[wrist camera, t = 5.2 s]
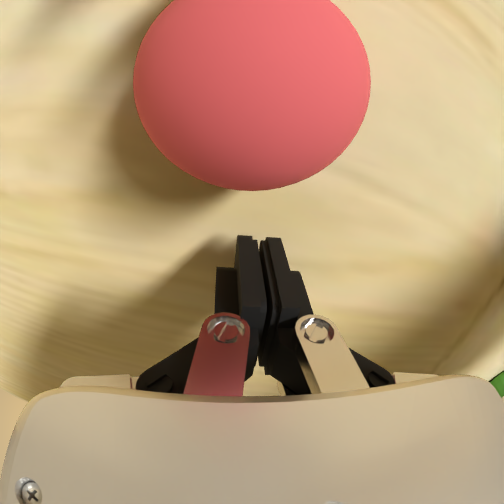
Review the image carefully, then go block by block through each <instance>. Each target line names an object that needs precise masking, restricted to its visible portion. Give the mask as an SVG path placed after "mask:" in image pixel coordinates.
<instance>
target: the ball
mask: <svg viewBox="0 0 504 504" xmlns="http://www.w3.org/2000/svg"><path fill="white" fill-rule="evenodd" d="M370 85H371V80H370V68H369V63H368V58H367V54H366V51H365V48H364V46H363V43H362V41H361V39H360V37H359V35H358V33H357V31H356V29H355V28H354V27H353V25H352V24H351V22H350V21H349V19H348V18H347V17H346V16H345V15H344V14H343V13H342V11H341V10H340V9H339V8H338V7H337V6H336V5H334V4H333V3H332V2H331V1H330V0H174V1H172V2H171V3H170V4H169V5H168V6H167V7H166V8H165V9H164V10H163V11H162V12H161V13H160V14H159V15H158V16H157V18H156V19H155V20H154V22H153V23H152V24H151V26H150V27H149V29H148V31H147V33H146V34H145V36H144V38H143V40H142V42H141V45H140V48H139V50H138V53H137V57H136V62H135V66H134V76H133V89H134V99H135V104H136V108H137V112H138V115H139V117H140V120H141V122H142V125H143V127H144V129H145V131H146V132H147V134H148V136H149V137H150V139H151V140H152V142H153V143H154V144H155V146H156V147H157V148H158V149H159V151H160V152H161V153H162V154H163V155H164V156H165V157H166V158H167V159H168V160H169V161H171V162H172V163H173V164H175V165H176V166H177V167H179V168H180V169H181V170H183V171H185V172H186V173H188V174H190V175H192V176H193V177H195V178H197V179H200V180H202V181H204V182H207V183H209V184H212V185H216V186H219V187H223V188H228V189H234V190H245V191H258V190H269V189H275V188H281V187H284V186H287V185H291V184H294V183H297V182H299V181H302V180H304V179H306V178H309V177H311V176H312V175H314V174H316V173H318V172H319V171H321V170H322V169H324V168H325V167H327V166H328V165H329V164H331V163H332V162H333V161H334V160H335V159H336V158H337V157H338V156H340V155H341V154H342V152H343V151H344V150H345V149H346V148H347V147H348V145H349V144H350V143H351V141H352V140H353V138H354V137H355V135H356V134H357V132H358V130H359V128H360V126H361V124H362V122H363V119H364V116H365V113H366V110H367V107H368V102H369V97H370Z"/></svg>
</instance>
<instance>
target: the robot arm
mask: <svg viewBox="0 0 504 504" xmlns="http://www.w3.org/2000/svg"><path fill="white" fill-rule="evenodd" d="M257 356H258V361H259V366H264V370H265V375H271V376H272V377H274V378H275V379H277V380H278V381H277V386H278V390H279V393H280V396H242V395H243V387H244V382H245V381H246V380H247V379H248V378H250V377H251V376H252V374H253V370H254V366H255V365H256V361H257ZM0 504H504V402H503V400H502V398H501V397H500V395H499V394H498V392H497V391H496V389H495V388H494V387H493V385H492V384H491V383H489V382H488V381H487V380H484V379H482V378H479V377H476V376H470V375H443V376H439V375H435V374H418V373H402V372H394V373H393V374H392V375H391V374H390V373H389V372H388V371H387V370H385V369H384V368H382V367H380V366H379V365H377V364H375V363H374V362H372V361H370V360H368V359H367V358H365V357H363V356H362V355H360V354H358V353H357V352H355V351H353V350H352V349H350V348H348V346H347V344H346V343H345V341H344V339H343V337H342V335H341V334H340V332H339V330H338V328H337V327H336V325H335V324H334V323H333V322H332V321H330V320H329V319H327V318H325V317H323V316H319V315H314V314H313V311H312V308H311V305H310V302H309V299H308V295H307V292H306V289H305V286H304V283H303V280H302V277H301V274H300V272H299V271H290V268H289V265H288V261H287V258H286V254H285V251H284V247H283V244H282V241H281V238H272V237H266V240H265V241H263V240H261V242H260V247H259V249H258V243H257V240H252V236H242V235H238V236H237V245H236V255H235V265H234V268H226V267H217V271H216V290H215V313H214V315H211V316H209V317H208V318H207V319H206V320H205V321H204V323H203V325H202V328H201V332H200V335H199V337H198V338H197V339H195V340H194V341H192V342H191V343H189V344H188V345H186V346H184V347H183V348H181V349H180V350H178V351H177V352H175V353H173V354H172V355H170V356H169V357H167V358H165V359H164V360H162V361H161V362H159V363H157V364H156V365H154V366H153V367H151V368H149V369H148V370H146V371H145V372H144V373H142V374H141V375H140V376H138V377H131V376H130V374H122V375H102V376H75V377H70V378H68V379H67V380H65V381H64V382H63V383H62V384H61V386H60V388H55V389H51V390H48V391H45V392H42V393H40V394H38V395H36V396H34V397H33V398H32V399H31V400H30V401H29V402H28V403H27V405H26V406H25V407H24V409H23V411H22V413H21V415H20V416H19V419H18V421H17V423H16V425H15V428H14V430H13V433H12V436H11V439H10V442H9V446H8V449H7V453H6V456H5V460H4V464H3V469H2V474H1V480H0Z"/></svg>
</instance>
